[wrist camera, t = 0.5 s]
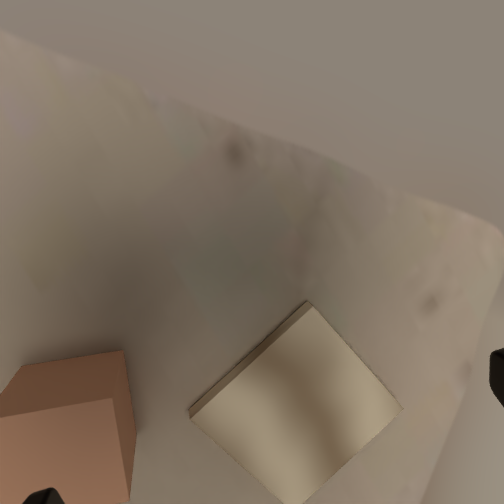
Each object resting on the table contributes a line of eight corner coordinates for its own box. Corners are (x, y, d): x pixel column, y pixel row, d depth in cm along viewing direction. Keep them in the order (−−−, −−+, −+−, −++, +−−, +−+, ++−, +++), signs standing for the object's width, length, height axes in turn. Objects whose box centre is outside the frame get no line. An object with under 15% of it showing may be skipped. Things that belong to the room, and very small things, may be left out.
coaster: (288, 499, 26) (293, 512, 25) (188, 409, 24) (189, 419, 23) (395, 400, 26) (403, 409, 25) (307, 300, 24) (313, 306, 23)
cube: (136, 433, 23) (129, 500, 18) (40, 452, 22) (6, 528, 18) (123, 349, 22) (112, 397, 18) (21, 365, 21) (-20, 421, 17)
